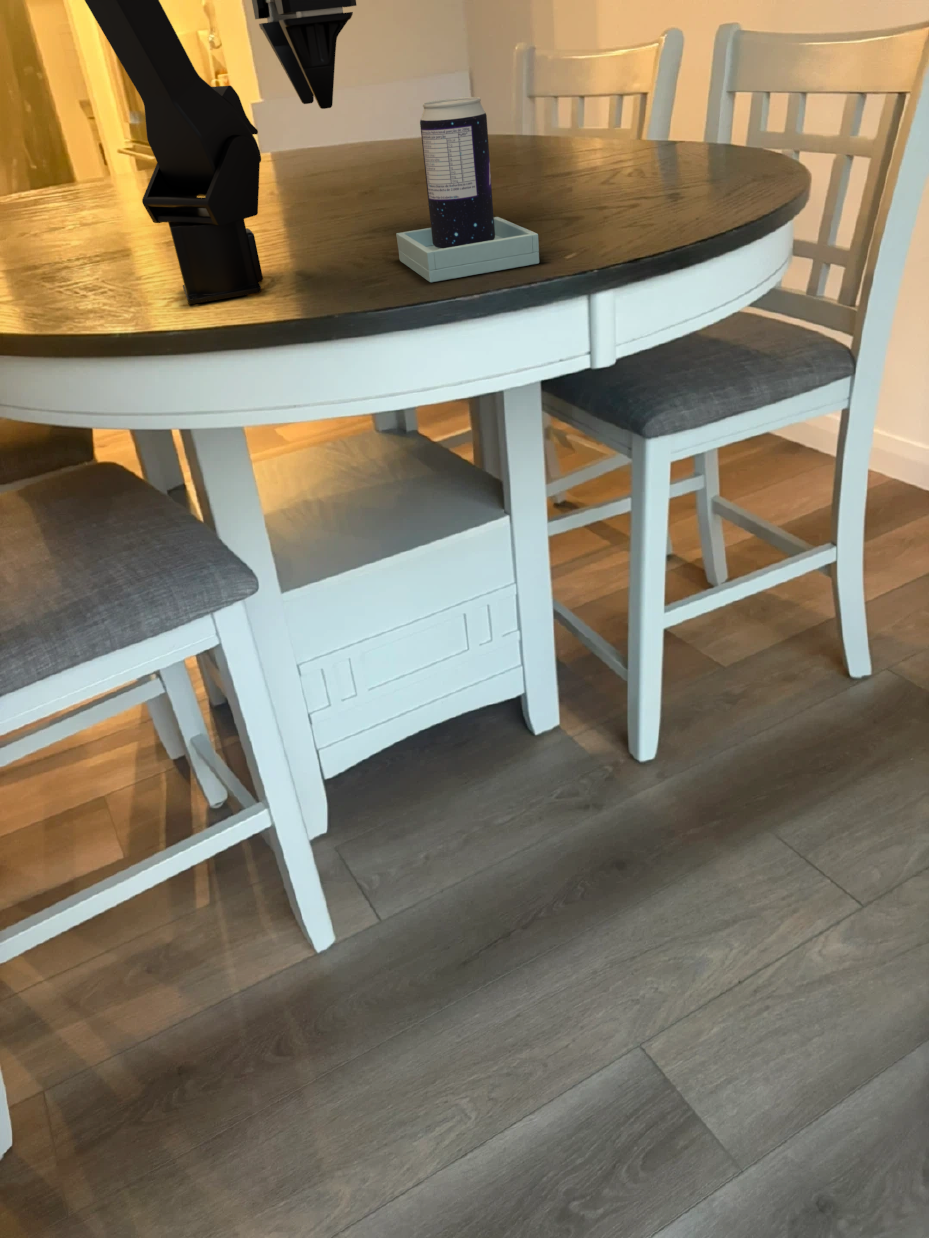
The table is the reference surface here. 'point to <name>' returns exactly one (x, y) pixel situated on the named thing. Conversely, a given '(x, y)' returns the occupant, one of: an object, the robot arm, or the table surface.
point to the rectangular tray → (469, 253)
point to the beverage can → (457, 171)
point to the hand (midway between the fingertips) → (316, 106)
